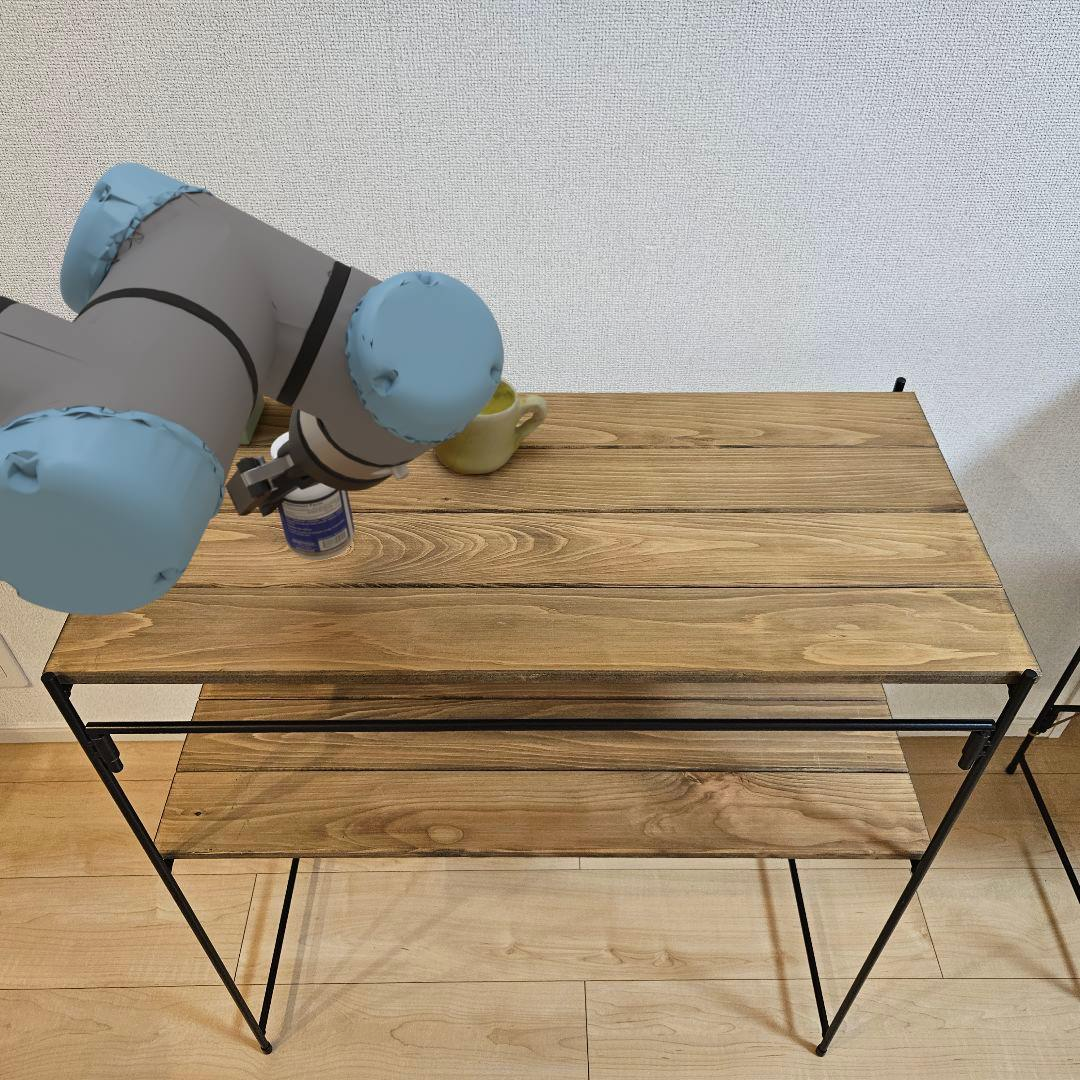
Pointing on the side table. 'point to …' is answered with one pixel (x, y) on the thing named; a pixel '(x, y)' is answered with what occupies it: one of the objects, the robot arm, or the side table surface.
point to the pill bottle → (315, 518)
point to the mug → (493, 432)
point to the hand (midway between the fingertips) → (296, 486)
